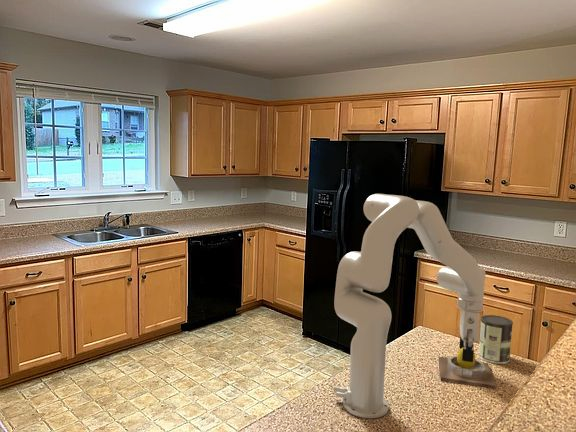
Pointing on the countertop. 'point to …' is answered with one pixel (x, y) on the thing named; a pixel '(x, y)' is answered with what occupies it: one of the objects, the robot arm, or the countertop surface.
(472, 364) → the lemon
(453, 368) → the steel ring
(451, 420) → the countertop surface
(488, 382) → the walnut board
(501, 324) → the coffee can
